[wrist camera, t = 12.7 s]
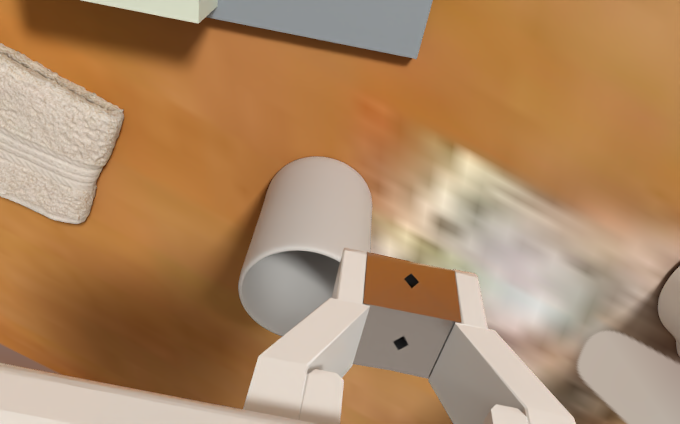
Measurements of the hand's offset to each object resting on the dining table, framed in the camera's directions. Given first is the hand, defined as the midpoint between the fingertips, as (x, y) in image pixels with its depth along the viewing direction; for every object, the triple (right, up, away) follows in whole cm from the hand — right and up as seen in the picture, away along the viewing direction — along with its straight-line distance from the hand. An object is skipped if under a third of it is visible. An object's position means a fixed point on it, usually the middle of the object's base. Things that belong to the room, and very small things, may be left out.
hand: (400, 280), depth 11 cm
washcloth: (-27, +10, +27) cm, 40 cm away
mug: (-2, +2, +30) cm, 30 cm away
